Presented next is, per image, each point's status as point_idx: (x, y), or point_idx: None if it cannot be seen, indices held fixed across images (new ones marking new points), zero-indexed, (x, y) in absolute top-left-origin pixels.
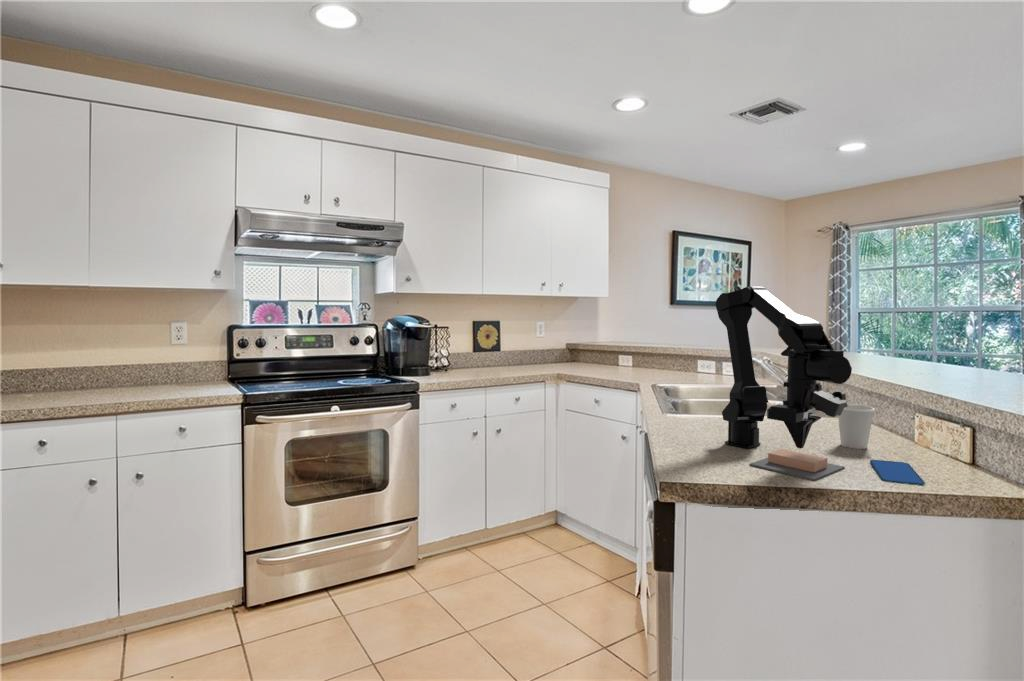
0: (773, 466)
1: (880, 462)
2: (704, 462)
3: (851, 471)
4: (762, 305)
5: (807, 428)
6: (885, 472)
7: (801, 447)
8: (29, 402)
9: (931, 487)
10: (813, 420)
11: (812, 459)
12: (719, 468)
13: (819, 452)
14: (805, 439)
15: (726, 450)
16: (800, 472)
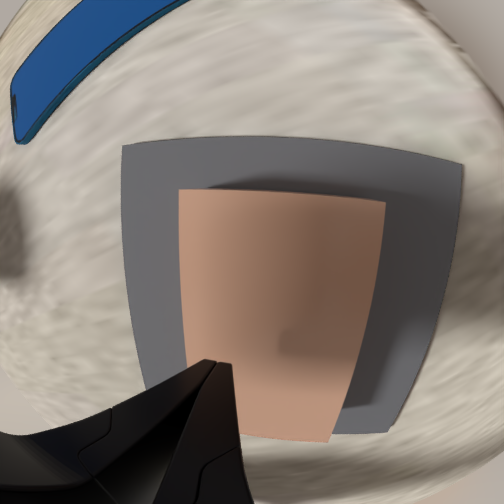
0: (378, 377)
1: (25, 112)
2: (413, 474)
3: (149, 106)
4: None
5: (115, 465)
6: (109, 29)
7: (231, 367)
8: None
9: None
10: (2, 498)
11: (299, 247)
12: (456, 438)
13: (37, 303)
14: (174, 390)
15: None
16: (406, 257)
